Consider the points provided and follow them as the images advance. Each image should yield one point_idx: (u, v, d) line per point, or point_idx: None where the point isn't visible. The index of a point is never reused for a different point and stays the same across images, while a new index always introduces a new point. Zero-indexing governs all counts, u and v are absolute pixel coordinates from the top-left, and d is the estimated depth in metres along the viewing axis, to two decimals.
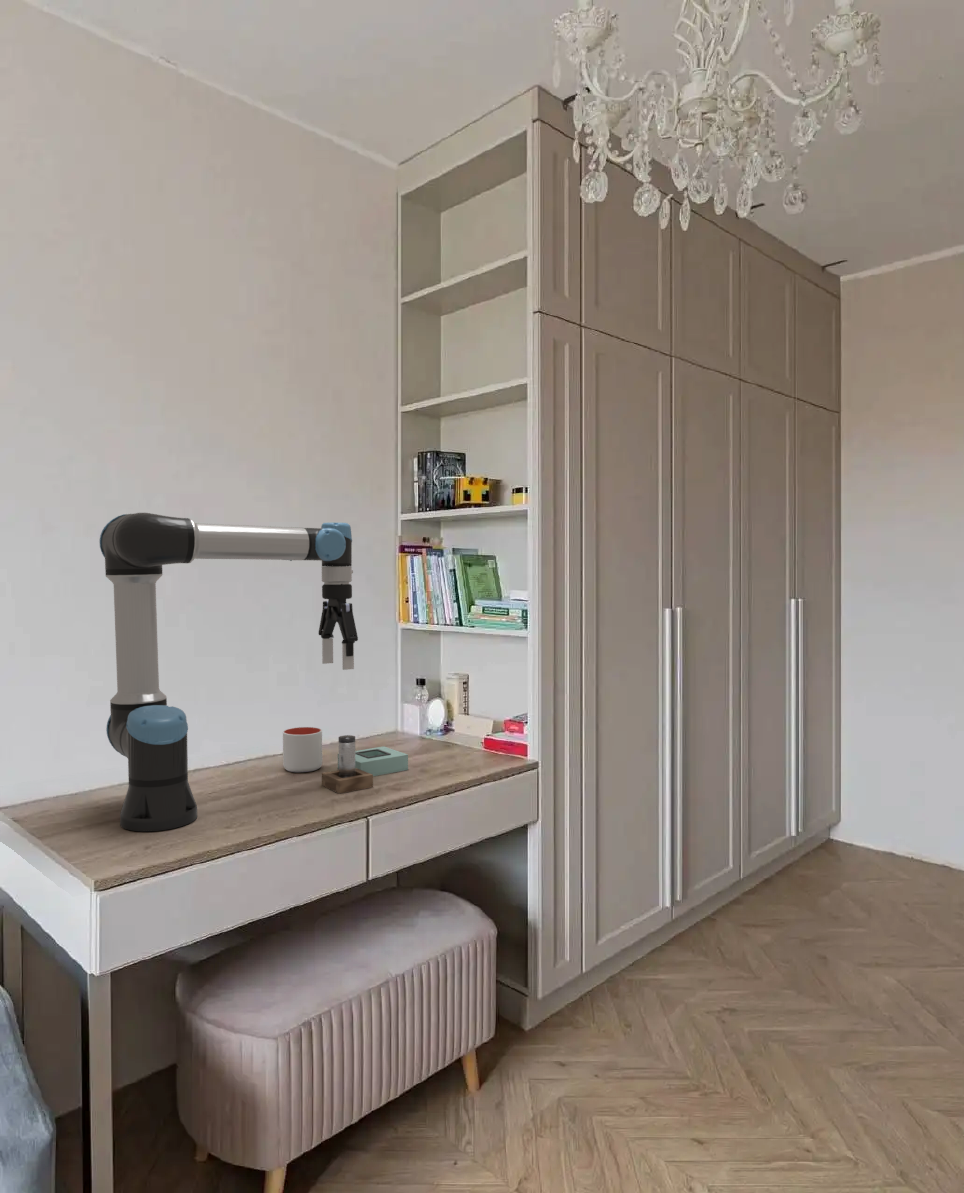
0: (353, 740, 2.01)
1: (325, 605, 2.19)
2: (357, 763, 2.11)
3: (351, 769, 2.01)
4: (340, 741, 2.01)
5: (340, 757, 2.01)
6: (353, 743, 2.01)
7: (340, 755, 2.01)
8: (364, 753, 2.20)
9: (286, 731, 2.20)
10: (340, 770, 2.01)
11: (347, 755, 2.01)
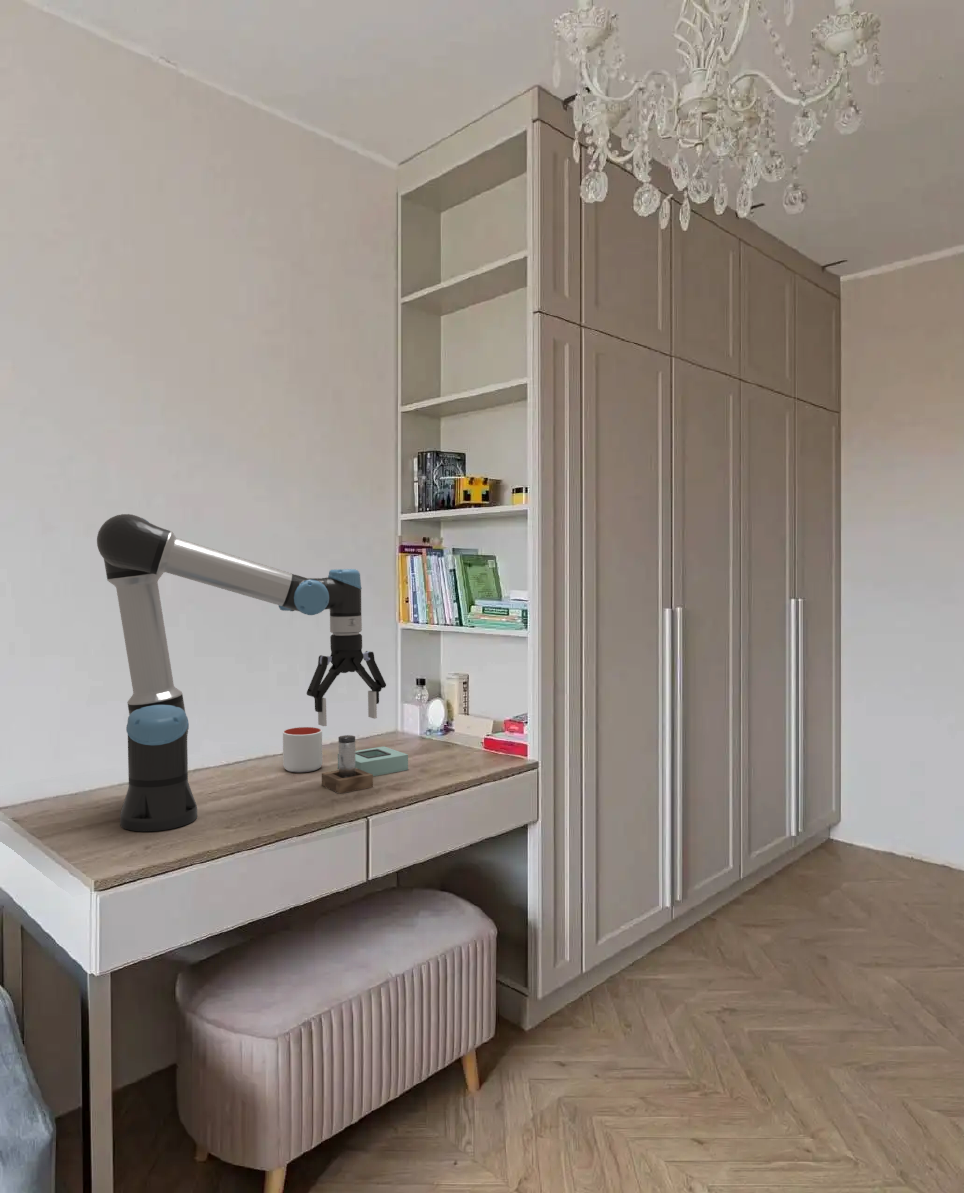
0: (353, 740, 2.01)
1: None
2: (357, 763, 2.11)
3: (351, 769, 2.01)
4: (340, 741, 2.01)
5: (340, 757, 2.01)
6: (352, 743, 2.01)
7: (340, 755, 2.01)
8: (364, 753, 2.20)
9: (286, 731, 2.20)
10: (340, 770, 2.01)
11: (347, 755, 2.01)
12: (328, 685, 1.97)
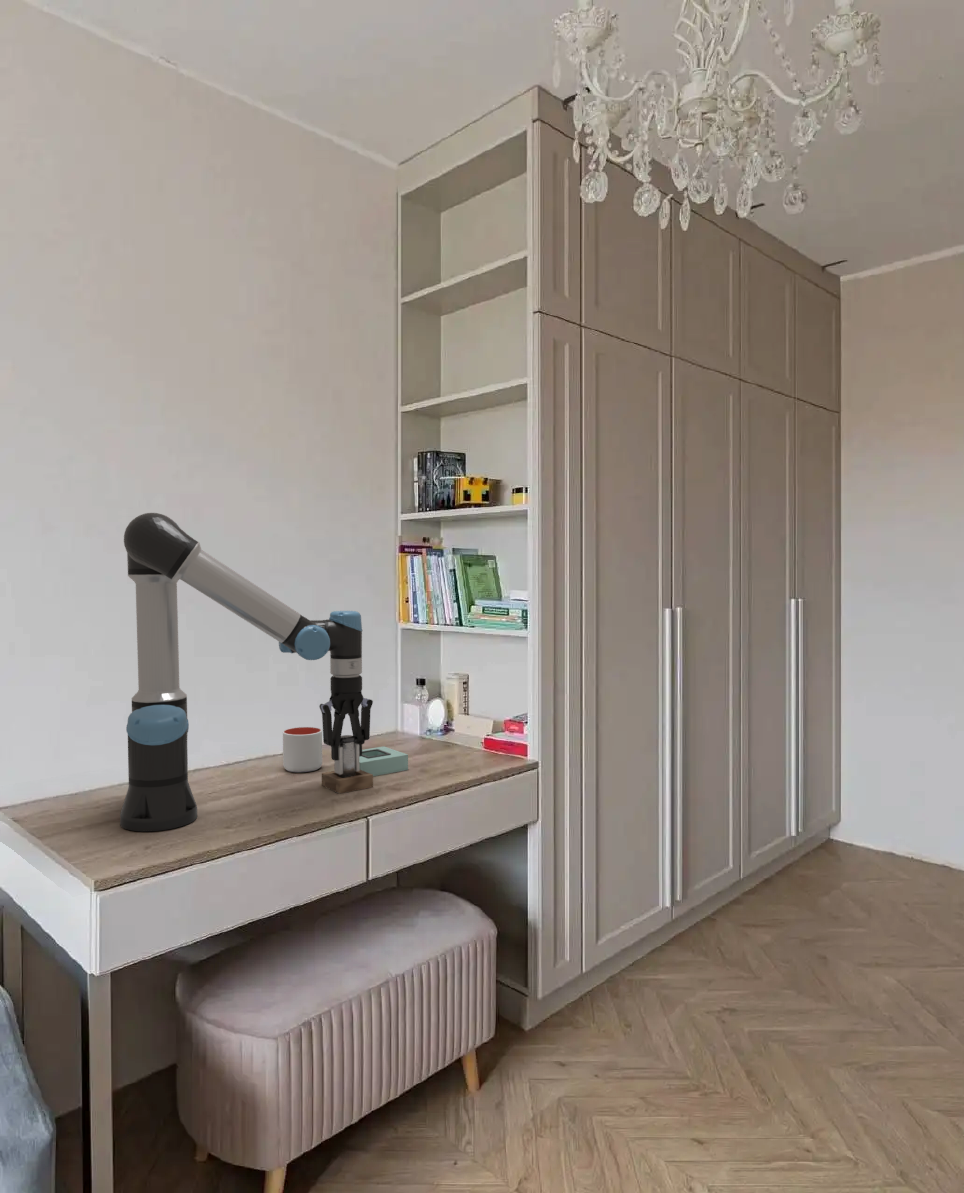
0: (353, 740, 2.01)
1: None
2: None
3: (351, 769, 2.01)
4: (340, 741, 2.01)
5: None
6: (352, 743, 2.01)
7: None
8: (364, 753, 2.20)
9: (286, 731, 2.20)
10: None
11: (347, 755, 2.00)
12: (339, 731, 2.00)
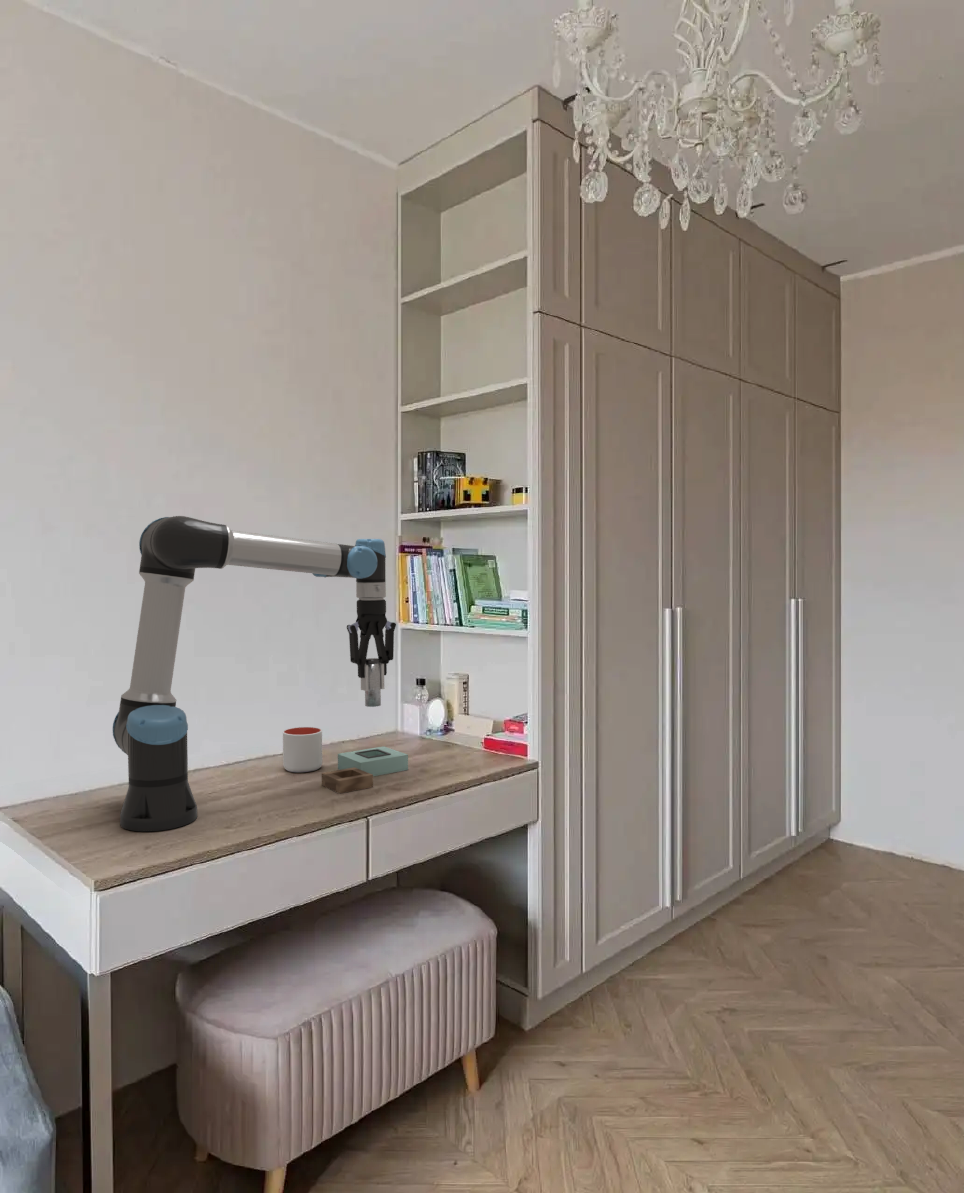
0: (378, 662, 2.16)
1: None
2: (357, 763, 2.11)
3: (377, 689, 2.16)
4: (366, 662, 2.15)
5: None
6: (378, 665, 2.16)
7: None
8: (364, 753, 2.20)
9: (286, 731, 2.20)
10: None
11: (373, 676, 2.15)
12: (365, 651, 2.14)
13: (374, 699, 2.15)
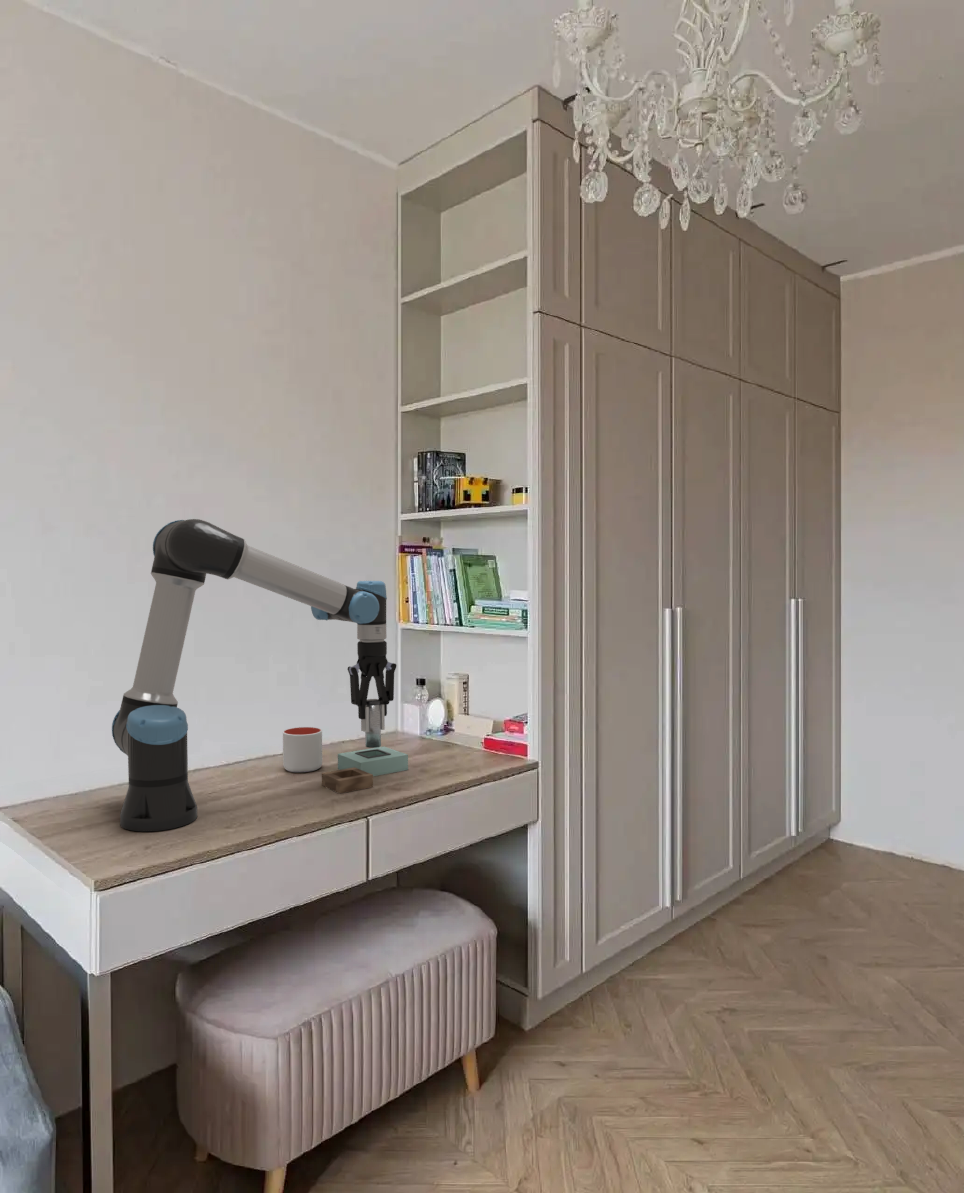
0: (378, 703, 2.17)
1: None
2: (357, 763, 2.11)
3: (377, 730, 2.17)
4: (366, 704, 2.16)
5: None
6: (378, 706, 2.17)
7: None
8: (364, 753, 2.20)
9: (286, 731, 2.20)
10: None
11: (373, 717, 2.16)
12: (366, 692, 2.15)
13: (374, 740, 2.16)
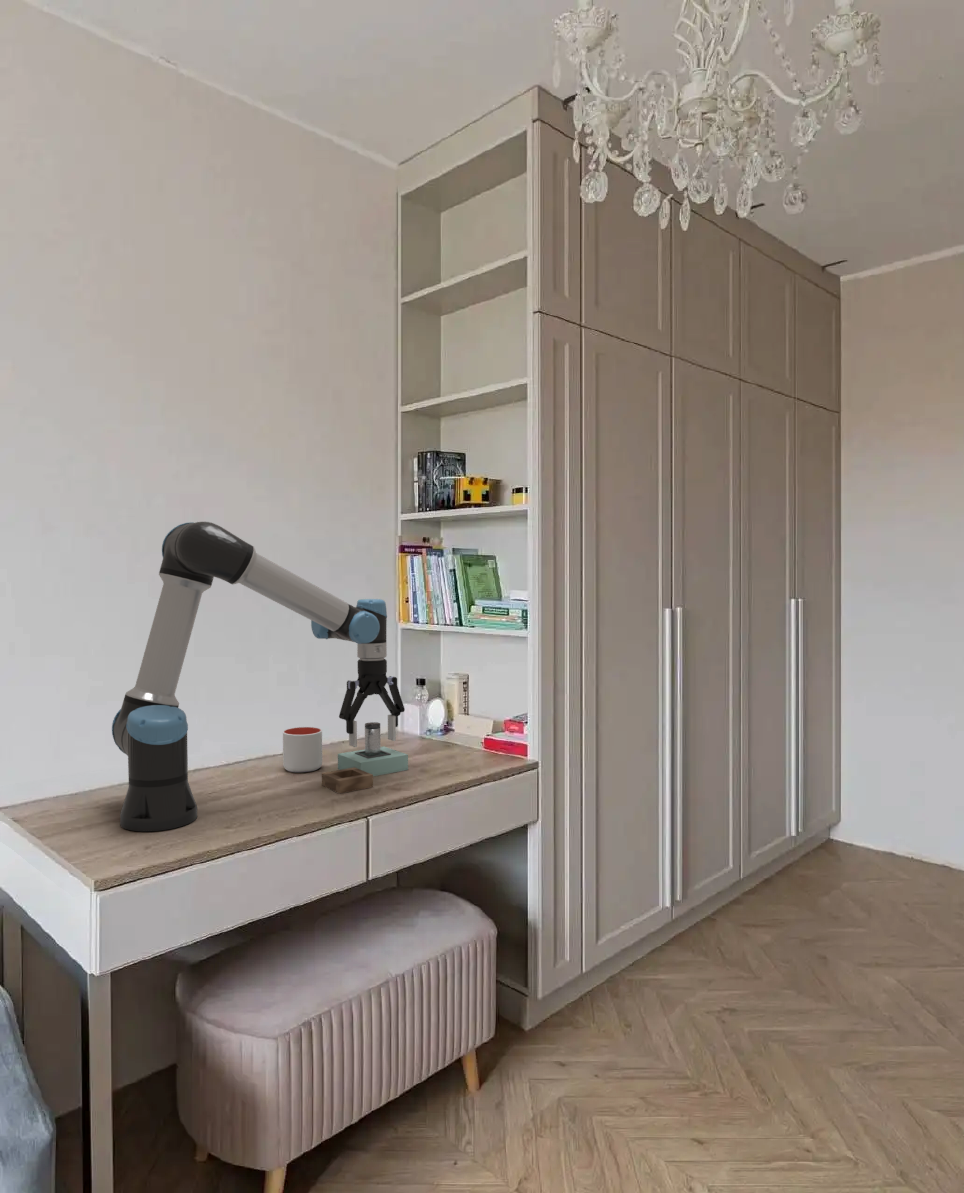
0: (378, 726, 2.17)
1: None
2: (357, 763, 2.11)
3: (377, 754, 2.17)
4: (366, 727, 2.17)
5: (366, 742, 2.17)
6: (378, 729, 2.17)
7: (366, 740, 2.17)
8: (364, 753, 2.20)
9: (286, 731, 2.20)
10: (366, 754, 2.17)
11: (373, 741, 2.16)
12: (358, 708, 2.14)
13: None
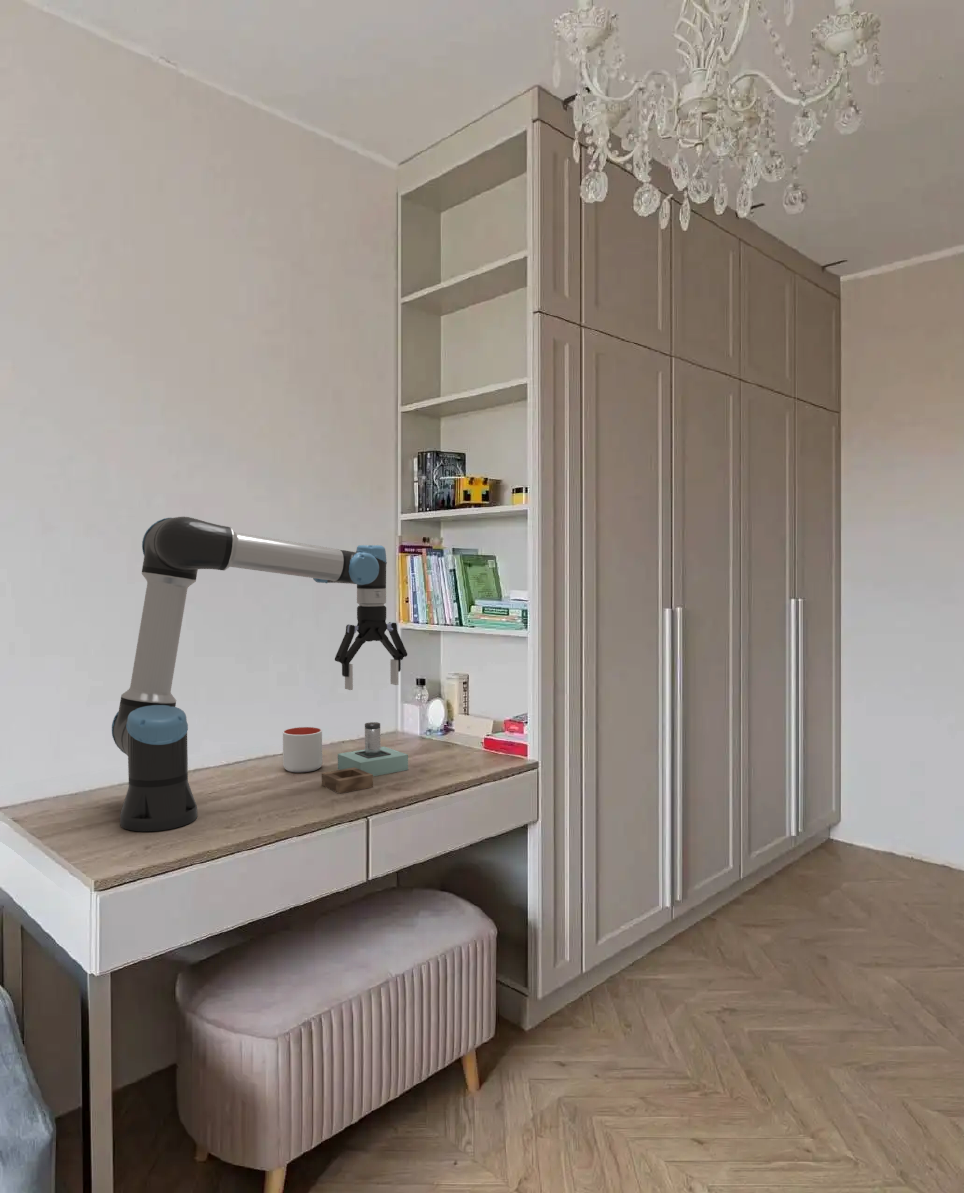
0: (378, 726, 2.17)
1: None
2: (357, 763, 2.11)
3: (377, 754, 2.17)
4: (366, 727, 2.17)
5: (366, 742, 2.17)
6: (378, 729, 2.17)
7: (366, 740, 2.17)
8: (364, 753, 2.20)
9: (286, 731, 2.20)
10: (366, 754, 2.17)
11: (373, 741, 2.16)
12: (355, 652, 2.13)
13: None
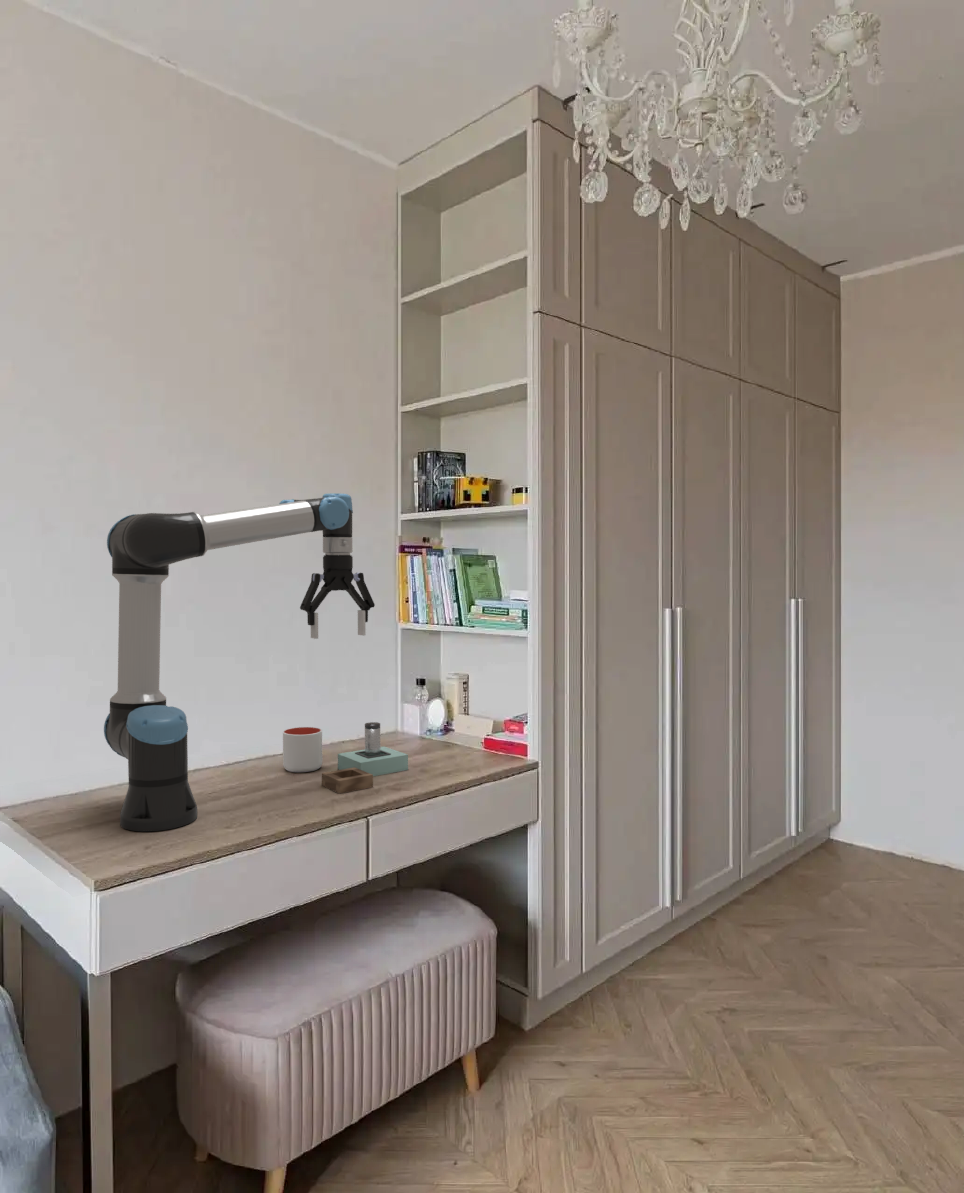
0: (378, 726, 2.17)
1: None
2: (357, 763, 2.11)
3: (377, 754, 2.17)
4: (366, 727, 2.17)
5: (366, 742, 2.17)
6: (378, 729, 2.17)
7: (366, 740, 2.17)
8: (364, 753, 2.20)
9: (286, 731, 2.20)
10: (366, 754, 2.17)
11: (373, 741, 2.16)
12: (320, 601, 2.12)
13: None
